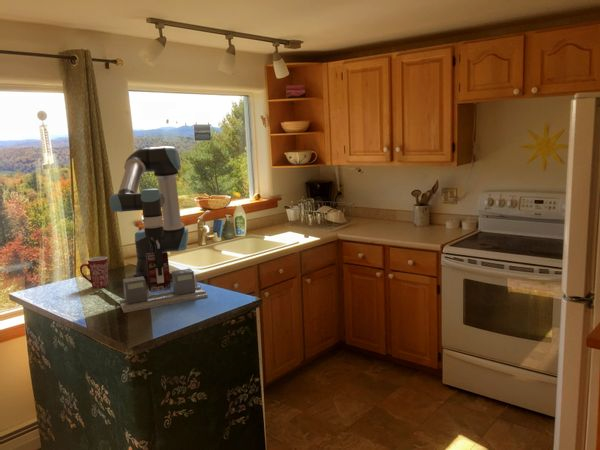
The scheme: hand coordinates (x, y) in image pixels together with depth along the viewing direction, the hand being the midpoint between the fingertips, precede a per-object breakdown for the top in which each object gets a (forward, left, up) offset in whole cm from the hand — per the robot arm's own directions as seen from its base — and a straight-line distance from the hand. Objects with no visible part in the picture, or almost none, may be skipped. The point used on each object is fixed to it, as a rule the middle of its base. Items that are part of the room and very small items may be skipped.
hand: (159, 281), depth 211 cm
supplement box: (0, 0, -4) cm, 4 cm away
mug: (-43, -22, -9) cm, 50 cm away
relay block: (-11, +15, -9) cm, 21 cm away
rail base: (0, +1, -9) cm, 9 cm away
